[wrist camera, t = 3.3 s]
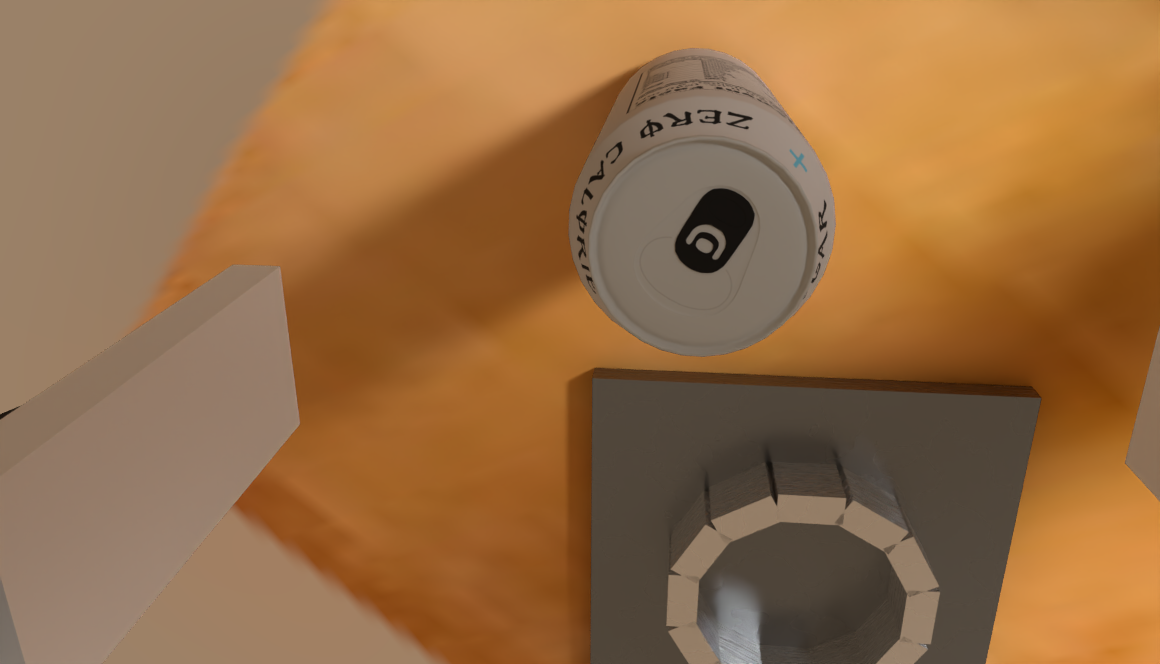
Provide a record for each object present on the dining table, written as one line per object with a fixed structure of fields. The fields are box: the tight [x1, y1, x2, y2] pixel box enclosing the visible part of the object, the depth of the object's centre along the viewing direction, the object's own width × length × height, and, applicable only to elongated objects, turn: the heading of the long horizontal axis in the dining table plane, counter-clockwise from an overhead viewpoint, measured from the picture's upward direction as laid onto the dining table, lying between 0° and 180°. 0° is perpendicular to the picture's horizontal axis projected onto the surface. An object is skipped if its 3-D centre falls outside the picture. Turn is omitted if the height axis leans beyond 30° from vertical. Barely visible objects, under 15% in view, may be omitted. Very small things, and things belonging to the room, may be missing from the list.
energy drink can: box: [569, 48, 836, 357], centre depth 26 cm, size 6×6×15 cm
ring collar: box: [591, 368, 1041, 664], centre depth 37 cm, size 17×17×4 cm
